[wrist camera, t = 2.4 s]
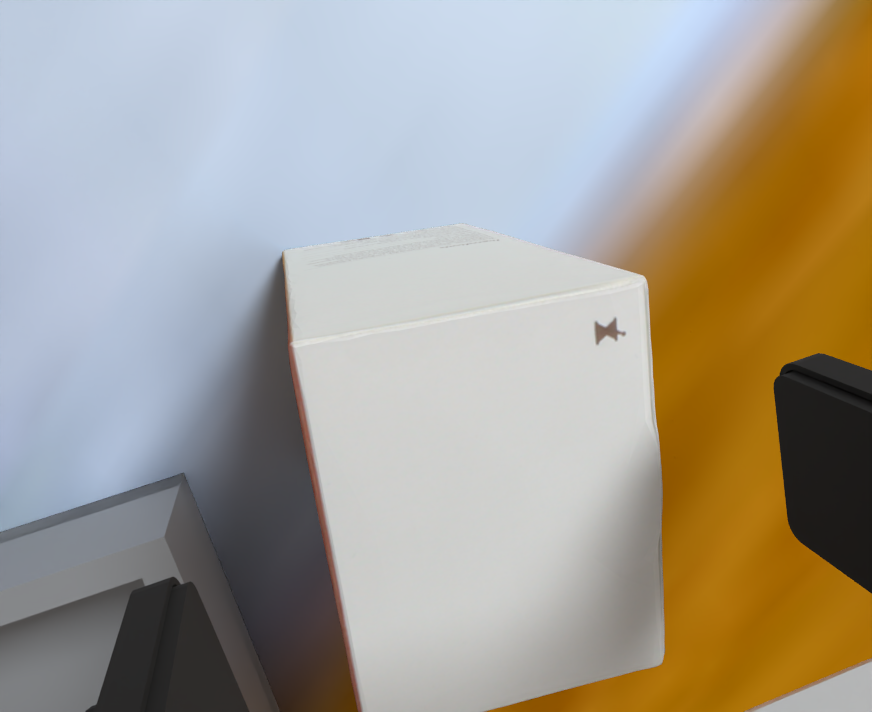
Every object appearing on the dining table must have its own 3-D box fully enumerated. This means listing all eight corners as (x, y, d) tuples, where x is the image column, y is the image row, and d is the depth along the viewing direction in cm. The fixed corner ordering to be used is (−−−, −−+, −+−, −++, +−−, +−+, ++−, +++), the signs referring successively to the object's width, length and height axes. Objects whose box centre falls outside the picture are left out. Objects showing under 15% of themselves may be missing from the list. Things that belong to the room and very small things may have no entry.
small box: (278, 248, 23) (280, 333, 11) (465, 219, 24) (659, 268, 12) (321, 473, 26) (363, 756, 13) (491, 438, 27) (677, 668, 14)
